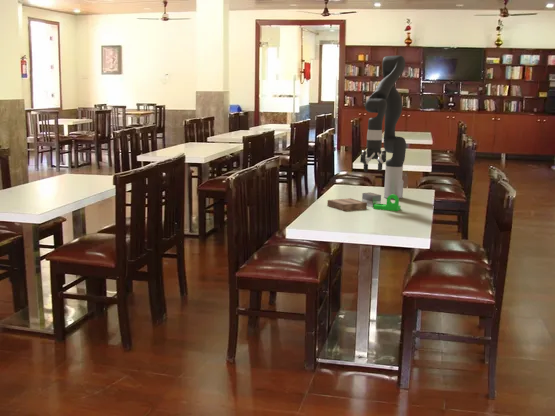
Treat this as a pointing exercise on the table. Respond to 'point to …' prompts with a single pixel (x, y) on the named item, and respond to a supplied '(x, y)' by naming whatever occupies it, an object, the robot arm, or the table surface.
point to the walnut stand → (347, 204)
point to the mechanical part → (389, 204)
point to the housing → (371, 199)
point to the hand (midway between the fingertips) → (372, 171)
